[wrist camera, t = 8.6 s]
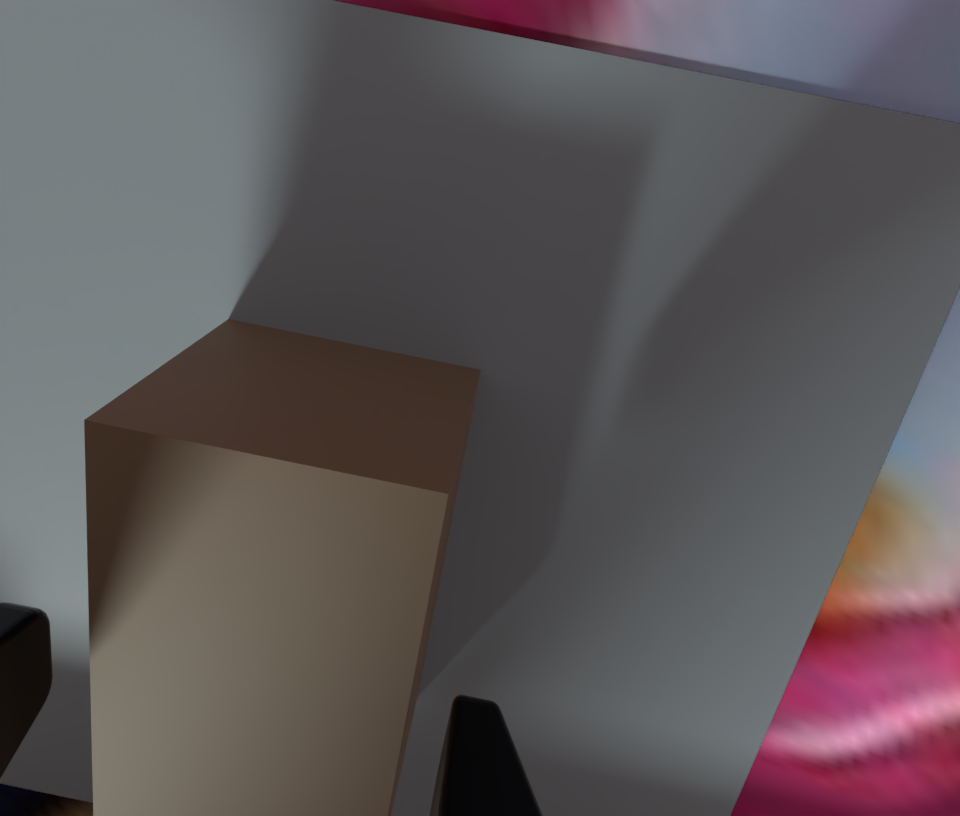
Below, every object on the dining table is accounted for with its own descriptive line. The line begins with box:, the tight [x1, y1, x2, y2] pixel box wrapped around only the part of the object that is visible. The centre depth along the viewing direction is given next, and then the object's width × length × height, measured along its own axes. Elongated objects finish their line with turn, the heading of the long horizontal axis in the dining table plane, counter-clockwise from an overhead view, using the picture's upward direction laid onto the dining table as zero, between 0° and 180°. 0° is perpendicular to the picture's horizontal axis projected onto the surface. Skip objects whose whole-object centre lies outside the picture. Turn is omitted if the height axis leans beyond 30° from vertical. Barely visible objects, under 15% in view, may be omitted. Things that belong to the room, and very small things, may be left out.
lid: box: [0, 0, 960, 816], centre depth 9 cm, size 12×13×4 cm
